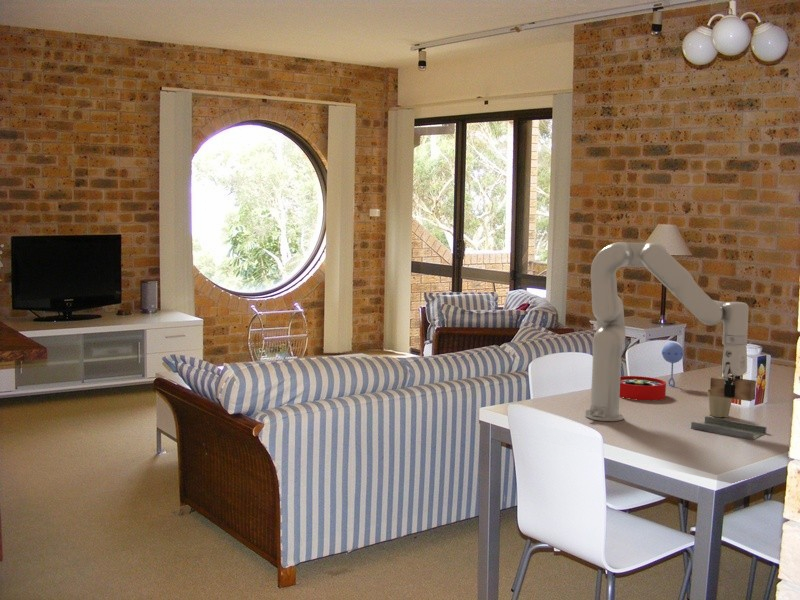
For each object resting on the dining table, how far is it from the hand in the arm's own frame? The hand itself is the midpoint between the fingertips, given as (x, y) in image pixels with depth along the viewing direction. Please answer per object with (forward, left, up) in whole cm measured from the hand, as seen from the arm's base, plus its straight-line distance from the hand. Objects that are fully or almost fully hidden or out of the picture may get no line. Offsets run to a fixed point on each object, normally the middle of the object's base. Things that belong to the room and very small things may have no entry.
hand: (732, 395), depth 286 cm
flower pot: (+19, +11, -12) cm, 25 cm away
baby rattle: (+57, +46, -12) cm, 74 cm away
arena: (0, 0, -12) cm, 12 cm away
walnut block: (0, 0, -1) cm, 1 cm away
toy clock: (+30, +47, -12) cm, 57 cm away
